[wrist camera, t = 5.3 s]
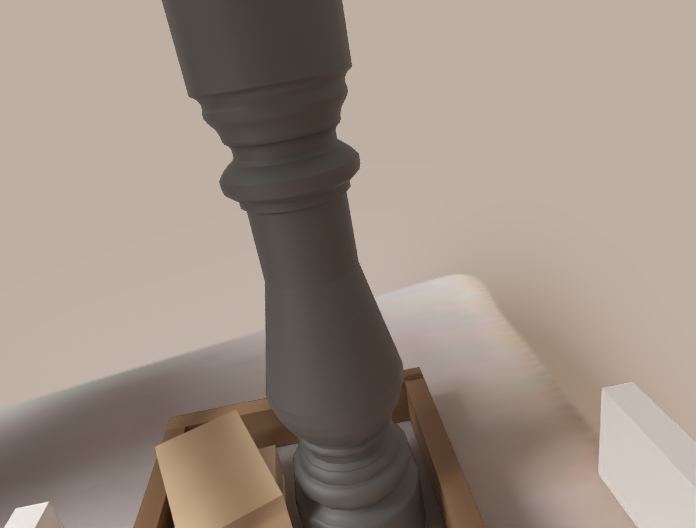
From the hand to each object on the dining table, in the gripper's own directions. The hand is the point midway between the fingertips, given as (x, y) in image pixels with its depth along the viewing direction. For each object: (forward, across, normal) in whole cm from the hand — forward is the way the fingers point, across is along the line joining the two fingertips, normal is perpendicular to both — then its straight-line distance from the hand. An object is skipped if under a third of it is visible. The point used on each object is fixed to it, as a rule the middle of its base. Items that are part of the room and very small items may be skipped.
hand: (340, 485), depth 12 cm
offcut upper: (+10, -6, -10) cm, 16 cm away
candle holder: (+10, 0, -13) cm, 16 cm away
